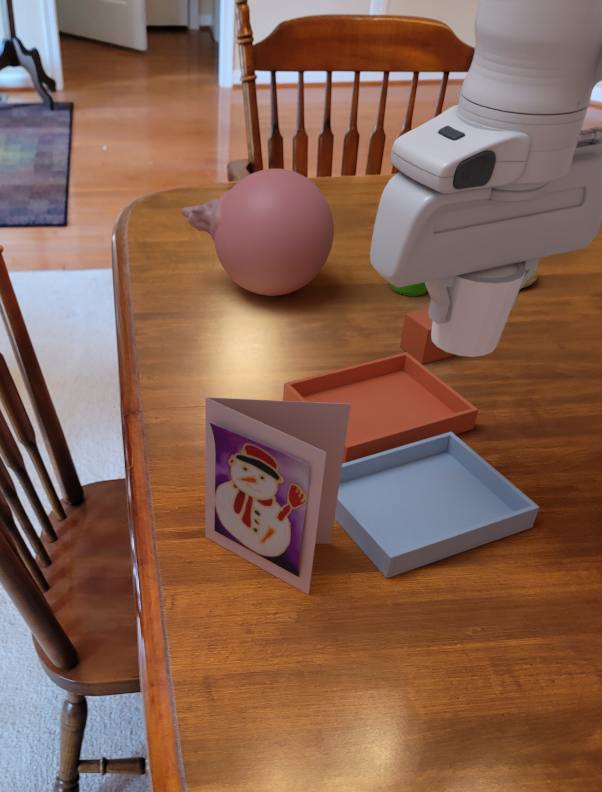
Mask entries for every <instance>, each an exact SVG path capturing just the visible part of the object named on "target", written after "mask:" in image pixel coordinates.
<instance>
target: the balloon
mask: <svg viewBox="0 0 602 792" xmlns="http://www.w3.org/2000/svg"><path fill="white" fill-rule="evenodd" d="M181 215H182V216H183V217H185V218H187V222H188V224H189V225H190V226H191V227H193V228H194V229H196V230H197V231H198V232H206V233H207V234H209V236H210V237H211V239H212V240H213V243H214V248H215V252H216V255H217V258H218V261H219V262H220V265H221V266H222V268H223V270H224V271H225V273H226V274H227V276H228V277H229V278H230V279H231V280H232V281H233V282H234V283H236V284H237V285H238V286H239V287H241V288H243V289H245V290H247V291H248V292H251V293H253V294H257V295H261V296H269V297H274V296H276V297H277V296H282V295H288V294H290V293H294V292H296V291H298V290H300V289H302V288H303V287H305V286H307V285H309V283H311V281H313V280H314V279H315V278H316V277H317V275H319V273H320V272H321V271H322V269H323V268H324V266H325V264H326V263H327V261H328V258H329V257H330V255H331V254H330V253H331V251H332V247H333V243H334V234H335V225H334V218H333V213H332V210H331V207H330V204H329V202H328V200H327V198H326V197H325V195H324V194H323V192H322V190H320V188H319V187H318V186H317V185H316V184H315V183H314V182H313V181H311V180H310V179H309V178H308V177H306V176H305V175H303V174H302V173H299V172H296V171H293V170H290V169H287V168H267V169H262V170H258V171H255V172H252V173H250V174H249V175H247V176H245V177H243V178H241V180H239V181H238V182H237V183H235V184H234V185H233V186H232V188H230V189H229V190H227V191H224V192H223V193H222V194H221V196H220V197H219V198H212V199H210V200H209V201H207V202H205V203H203V204H201V205H200V204H196V205H194V206H193V205H191V206H185V207H182V209H181Z"/></svg>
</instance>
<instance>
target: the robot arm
mask: <svg viewBox="0 0 602 792" xmlns="http://www.w3.org/2000/svg"><path fill="white" fill-rule="evenodd" d="M474 39H475V40H474V43H475V44H474V52H473V57H472V61H471V64H470V65H469V66H470V67H469V69H468V71H467V73H466V76H465V78H464V79H463V82H462V85H461V88H460V93H459V100H458V104H454V105H452V106H450V107H449V108H447V109H446V110H445V111H443V112H442V113H440V114H438V115H436V116H435V117H433V118H431V119H430V120H427V121H426V122H424V123H423V124H420V125H418V126H417V127H415V128H413V129H410V130H409V131H406V132H405V133H403V134H402V135H399V136H398V137H396V139H395V140H394V141H393V143H392V146H391V152H390V163H391V165H392V167H394V168H396V169H397V170H398V172H397V173H395V174H394V175H393V176H392V177H391V178H390V179H389V180H388V182H386V185H385V186H384V189H383V191H382V193H381V195H380V199H379V203H378V207H377V211H376V216H375V220H374V226H373V231H372V236H371V243H370V250H369V262H370V264H371V266H372V268H373V269H374V271H375V272H376V274H377V275H379V276H380V277H381V278H382V279H383V280H385V281H387V282H388V283H389V284H390V283H391V284H392V285H394V286H396V287H405V286H409V285H413V284H418V283H423V282H425V285H426V288H427V292H428V295H429V297H430V302H429V307H428V308H429V312H428V315H429V318H430V319H431V320H433V321H434V322H435V323H436V324H441V323H446V322H449V321H450V318H451V312H452V305H453V304H451V303H450V299H449V295H448V292H447V287H452V286H453V283H454V279H455V276H456V275H461V274H466V273H471V272H475V271H480V270H485V269H490V268H494V267H499V266H504V265H509V264H513V263H518V262H522V263H523V264H524V266H525V269H526V273H525V275H524V278H523V281H522V283H521V286H520V288H519V291H518V293H517V296H516V298H515V301H514V304H513V306H512V308H514V307H515V306H516V303H517V299H518V296H519V293H520V290H521V289H523V288H522V287H523V286H524V284H525V283H526V282H527V281H528V279H529V278H530V277H531V275H532V274H533V273H534V272H535V270H536V269H537V270H538V265H539V262H540V259H542V258H547V257H551V256H555V255H560V254H565V253H570V252H576V251H580V250H584V249H586V248H587V247H588V246H589V245H590V244H591V243H592V242H593V240H594V239H595V238H596V237H597V235H598V234H599V231H600V228H601V224H602V126H593V127H589V128H588V129H582V128H583V125H584V122H585V119H586V116H587V113H588V109H589V105H590V101H591V98H592V93H593V90H594V89H595V87H596V85H597V84H598V83H600V82H601V81H602V0H478V4H477V7H476V13H475V18H474Z"/></svg>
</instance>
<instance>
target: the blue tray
mask: <svg viewBox="0 0 602 792" xmlns="http://www.w3.org/2000/svg"><path fill="white" fill-rule="evenodd" d="M539 510H540V506H539V505H538V504H537V503H536V502H534V501H533V500H532V499H531V498H530V497H528V496H527V494H525V493H524V492H522V491H521V490H520V489H519V488H518V487H516V485H515V484H513V483H512V482H511V481H510V480H509V479H508V478H506V477H505V475H503V474H501V472H499V471H498V470H497V469H496V468H494V467H493V466H492V465H491V464H490V463H489V462H488V461H487V460H485V459H484V458H483V457H482V456H480V455H479V454H478V453H477V452H476V451H475V450H474V449H473V448H472V447H470V446H469V445H468V444H467V443H465V442H464V441H463V440H462V439H460V437H458V435H457V434H454V433H452V432H448V433H444V434H441V435H438V436H434V437H431V438H428V439H424V440H421V441H417V442H414V443H411V444H407V445H404V446H400V447H397V448H394V449H390V450H387V451H384V452H380V453H377V454H373V455H370V456H367V457H363V458H360V459H357V460H353V461H350V462H346V463H343V464H342V469H341V476H340V483H339V490H338V497H337V504H336V511H335V518H334V521H336V523H338V525H339V526H340V527H341V529H342V530H343V531H344V532H345V533H346V534H347V535H348V536H349V538H351V540H352V541H353V542H354V544H356V545H357V547H358V548H359V549H360V550H361V551H362V552H363V553H364V555H365V556H366V557H367V558H368V559H369V560H370V561H371V563H372V564H373V565H374V566H375V568H377V570H378V571H379V572H380V573H381V574H382V576H384V578H385V579H389V578H392V577H395V576H398V575H400V574H403V573H406V572H409V571H412V570H415V569H417V568H421V567H423V566H427V565H429V564H432V563H435V562H438V561H441V560H443V559H447V558H449V557H452V556H456V555H459V554H460V553H463V552H466V551H469V550H471V549H474V548H477V547H481V546H484V545H486V544H489V543H491V542H495V541H498V540H500V539H503V538H506V537H509V536H512V535H515V534H518V533H520V532H523V531H526V530H529V529H532V528H533V526H534V523H535V522H536V518H537V515H538V513H539Z"/></svg>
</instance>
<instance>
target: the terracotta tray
mask: <svg viewBox="0 0 602 792" xmlns="http://www.w3.org/2000/svg"><path fill="white" fill-rule="evenodd" d="M282 392H283V393H282V401H298V402H320V403H342V404H351V405H350V412H349V420H348V427H347V434H346V441H345V448H344V455H343V462H342V464H343V463H346V462H350V461H353V460H357V459H360V458H363V457H367V456H370V455H373V454H377V453H380V452H384V451H387V450H390V449H394V448H397V447H400V446H404V445H407V444H411V443H414V442H417V441H421V440H424V439H428V438H431V437H434V436H438V435H441V434H444V433H448V432H452V433H454V434H455V435H459V434H461V433H465V432H469V431H471V430H474V428H475V424H476V421H477V417H478V413H479V409H478V407H476V406H475V405H473V404H472V403H471V402H470V401H469V400H467V398H465V397H464V396H462V395H461V394H460V393H459V392H457V391H456V390H455V389H453V388H452V387H451V386H450V385H448V384H447V383H446V382H445V381H444V380H442V379H441V378H440V377H438V375H436V373H434V372H432V371H431V370H430V369H429V368H427V367H426V366H425V365H424V364H421V363H420V362H418V361H417V360H416V359H415V358H413V357H412V356H411V355H410V354H408V353H407V352H405V351H404V352H401V353H397V354H392V355H389V356H386V357H382V358H378V359H377V358H376V359H374V360H369V361H366V362H361V363H358V364H353V365H351V366H347V367H343V368H338V369H334V370H331V371H327V372H323V373H318V374H316V375H311V376H308V377H303V378H299V379H295V380H292V381H288V382H284V383H283V391H282Z"/></svg>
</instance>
